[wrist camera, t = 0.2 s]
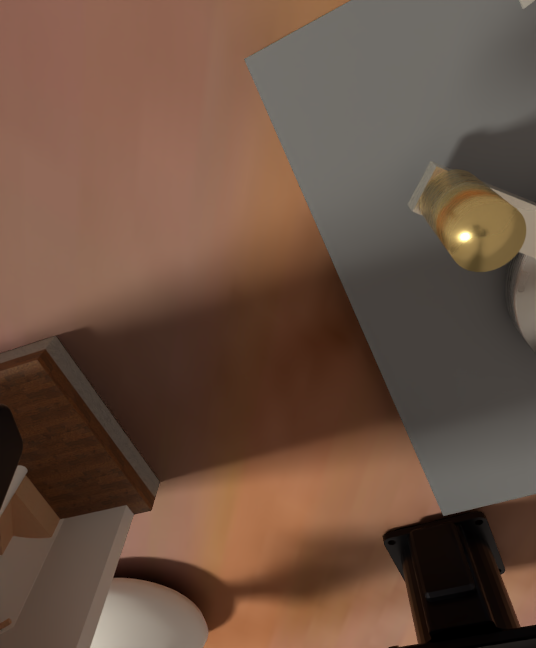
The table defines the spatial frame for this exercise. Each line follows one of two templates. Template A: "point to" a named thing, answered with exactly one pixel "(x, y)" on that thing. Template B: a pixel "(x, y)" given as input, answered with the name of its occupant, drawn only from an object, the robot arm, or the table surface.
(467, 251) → the disc crank with handle
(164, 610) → the flower in vase
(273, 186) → the table surface
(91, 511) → the display case
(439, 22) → the stand base
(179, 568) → the table surface
